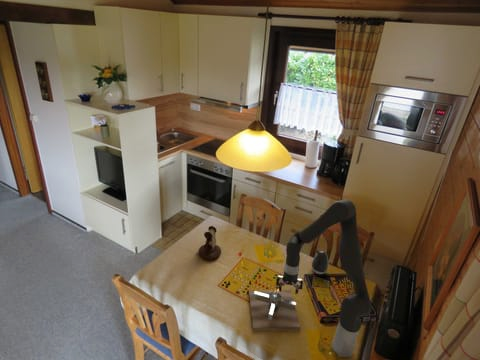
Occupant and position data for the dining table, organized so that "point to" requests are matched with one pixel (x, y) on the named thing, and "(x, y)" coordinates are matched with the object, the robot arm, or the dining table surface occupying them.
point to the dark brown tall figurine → (210, 245)
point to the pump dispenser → (320, 262)
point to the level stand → (281, 317)
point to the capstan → (274, 301)
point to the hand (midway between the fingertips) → (288, 291)
